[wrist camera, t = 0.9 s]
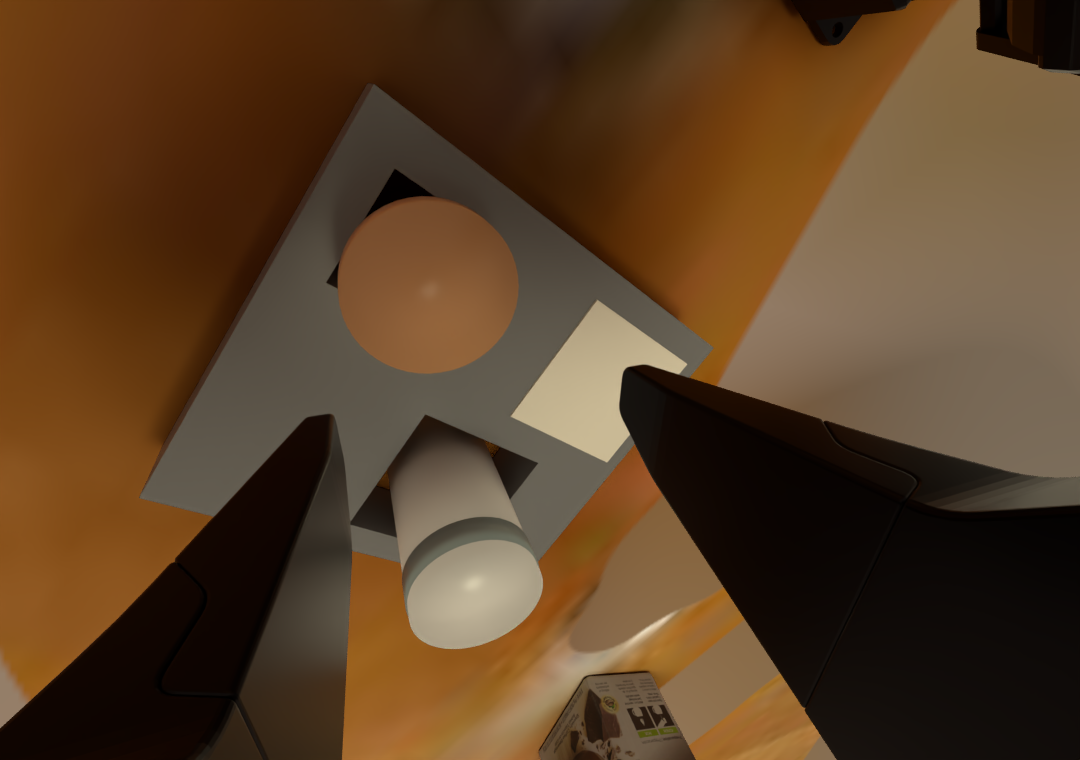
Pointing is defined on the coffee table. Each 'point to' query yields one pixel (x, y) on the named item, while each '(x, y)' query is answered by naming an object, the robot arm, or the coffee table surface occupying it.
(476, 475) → the cylinder
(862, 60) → the coffee table surface
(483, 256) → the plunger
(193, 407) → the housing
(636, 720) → the coffee box
